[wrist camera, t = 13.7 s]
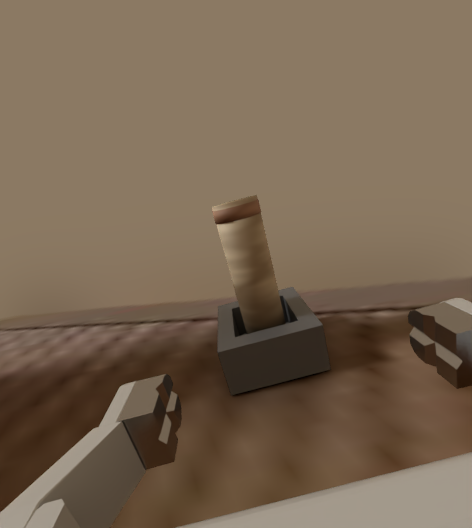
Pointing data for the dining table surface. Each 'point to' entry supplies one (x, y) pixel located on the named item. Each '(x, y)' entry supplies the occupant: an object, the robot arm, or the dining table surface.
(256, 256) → the dowel
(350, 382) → the dining table surface
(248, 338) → the square socket block
